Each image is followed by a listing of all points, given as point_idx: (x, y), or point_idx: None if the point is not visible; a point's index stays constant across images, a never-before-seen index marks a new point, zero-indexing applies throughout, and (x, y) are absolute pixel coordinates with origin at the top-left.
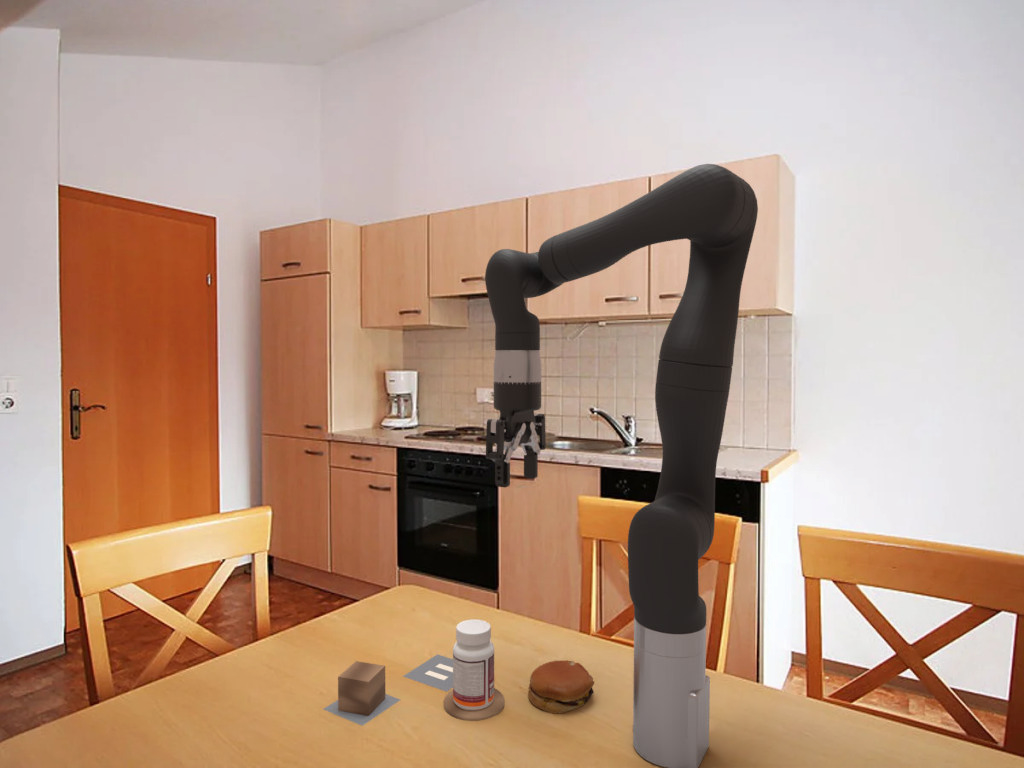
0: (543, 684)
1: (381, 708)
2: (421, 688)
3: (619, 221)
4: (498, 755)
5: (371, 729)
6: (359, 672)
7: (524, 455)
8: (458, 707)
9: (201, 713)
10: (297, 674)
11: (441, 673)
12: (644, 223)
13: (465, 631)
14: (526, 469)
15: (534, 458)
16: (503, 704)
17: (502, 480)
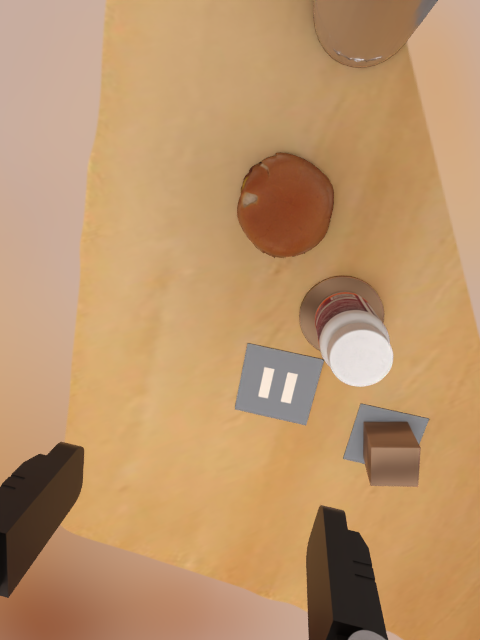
0: (324, 225)
1: (387, 415)
2: (325, 392)
3: None
4: (447, 243)
5: (431, 406)
6: (399, 468)
7: (8, 593)
8: None
9: (448, 575)
10: None
11: (281, 384)
12: None
13: (386, 364)
14: (58, 513)
15: (16, 527)
16: (335, 277)
17: (367, 552)
